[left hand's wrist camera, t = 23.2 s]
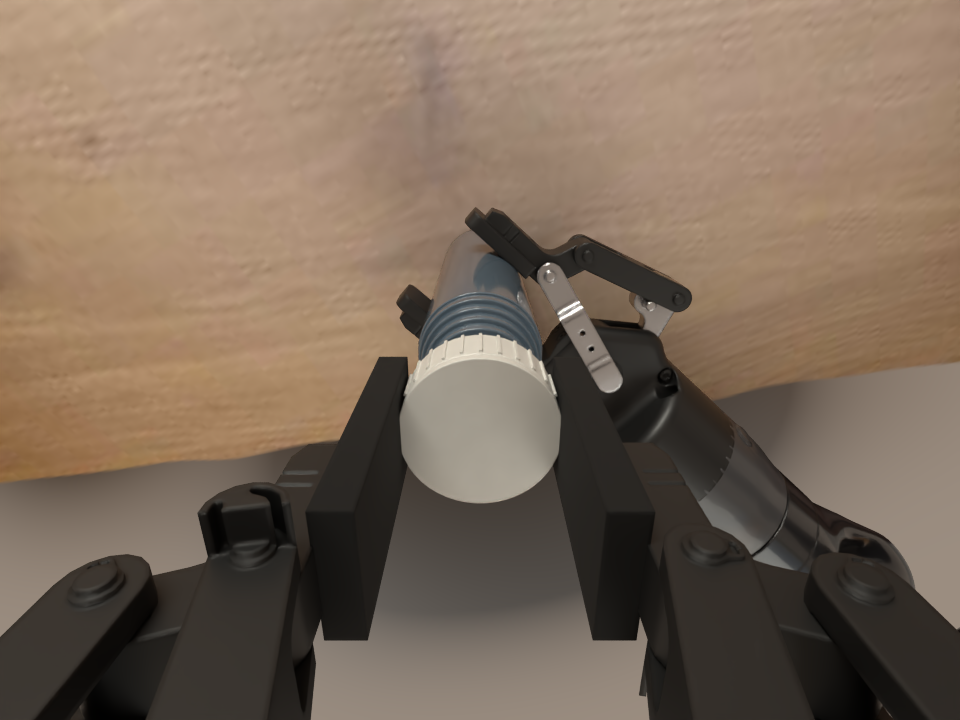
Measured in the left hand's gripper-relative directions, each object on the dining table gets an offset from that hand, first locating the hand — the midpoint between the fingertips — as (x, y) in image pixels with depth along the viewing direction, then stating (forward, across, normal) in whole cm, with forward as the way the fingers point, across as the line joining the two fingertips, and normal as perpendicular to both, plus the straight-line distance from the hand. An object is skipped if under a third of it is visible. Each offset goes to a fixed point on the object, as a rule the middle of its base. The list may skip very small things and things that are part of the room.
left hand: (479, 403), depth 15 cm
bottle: (+18, 0, 0) cm, 18 cm away
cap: (-1, 0, 0) cm, 1 cm away
